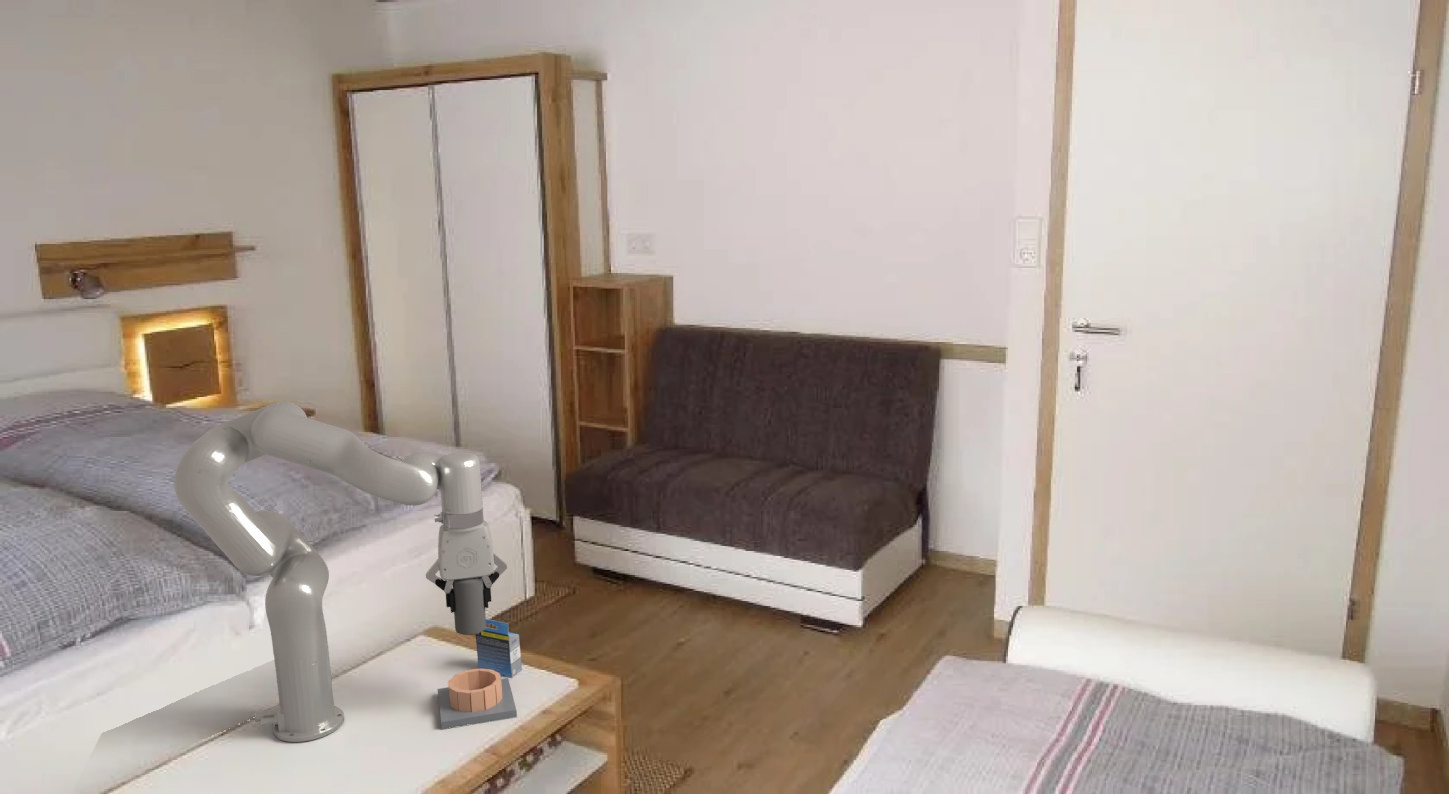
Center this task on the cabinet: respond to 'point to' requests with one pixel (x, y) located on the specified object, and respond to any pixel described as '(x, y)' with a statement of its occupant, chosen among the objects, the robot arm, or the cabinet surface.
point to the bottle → (469, 606)
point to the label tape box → (499, 649)
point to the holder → (475, 698)
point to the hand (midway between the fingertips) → (469, 606)
